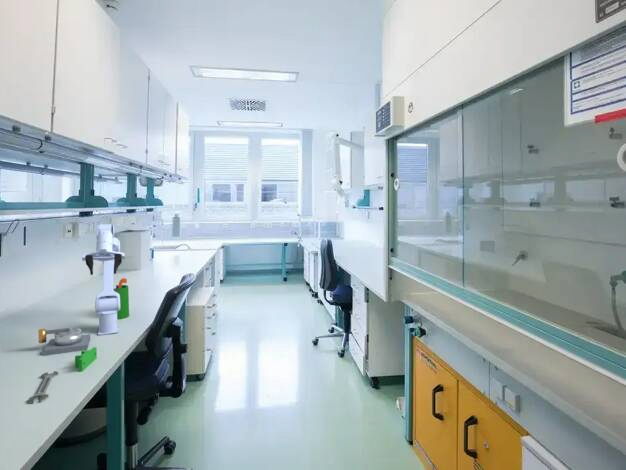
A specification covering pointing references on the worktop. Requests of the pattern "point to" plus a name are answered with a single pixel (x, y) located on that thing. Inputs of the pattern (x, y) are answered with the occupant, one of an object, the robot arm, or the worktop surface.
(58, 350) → the base plate
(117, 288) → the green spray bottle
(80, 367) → the pipe clamp
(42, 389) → the wrench
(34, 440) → the worktop surface
